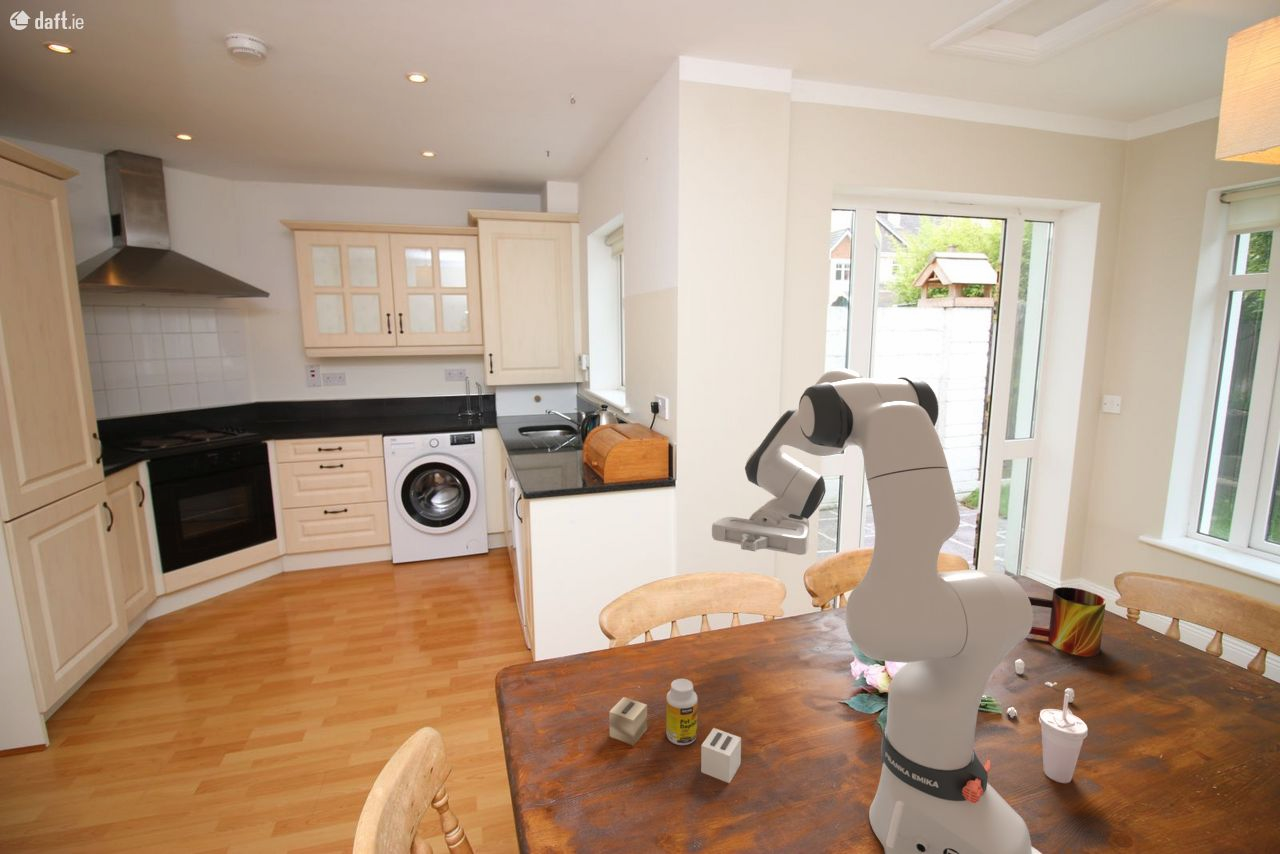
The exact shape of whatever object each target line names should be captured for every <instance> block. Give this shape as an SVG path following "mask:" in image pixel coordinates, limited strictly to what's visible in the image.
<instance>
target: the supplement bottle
mask: <svg viewBox="0 0 1280 854" xmlns="http://www.w3.org/2000/svg"><path fill="white" fill-rule="evenodd" d="M670 683H671V684H670V690H669V691H668V692H667V694H666V701H665V702H666V705H665V706H666V710H665V711H666V716H665V717H666V718H665V719H666V720H665V721H666V725H665V726H666V727H665V729H666V731H665V732H666V738H667V739H668V740H669V741H670V742H671V743H672V744H675V745H677V746H688V745H690V744H692V743H693V742H694V741H696V738H697V735H698V695H697V693H696V691H694V683H693V682H692V681H691V680H690V679H686V678H676V679H674V680H672V682H670Z"/></svg>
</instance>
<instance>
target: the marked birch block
mask: <svg viewBox="0 0 1280 854" xmlns="http://www.w3.org/2000/svg"><path fill="white" fill-rule="evenodd" d="M608 713H609V715H608V717H609V719H608V720H609V723H608V724H609V737H610V738H612V739H615V740H619V742H620V741H621V742H623V743H626V744H628V745H631V746H633V747H634V746H635V745H636V743H637V742H638V741H639V740H640V739H641V737H642V736H643V735H644V734H645V733H646V731H647V730H648V704H646V703H643V702H640V701H638V700H634V699H632V698H628V697H625V696H623V697H622V698H621V699H620V700H619V701H618V702H617V703H616V704H615V705H614V706H613V707H612V708H611V710H609V712H608ZM643 733H644V734H643Z"/></svg>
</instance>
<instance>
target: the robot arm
mask: <svg viewBox="0 0 1280 854" xmlns="http://www.w3.org/2000/svg"><path fill="white" fill-rule="evenodd" d="M938 418H939V402H938V397H937V396H936V393H935V392H934V390H933V389H932V387H931V386H930V385H929V384H928V383H927V382H926V381H924V380H922V379H918V378H912V377H902V376H901V377H898V378H867V377H863V376H862V375H861V374H860V373H858V372H857V371H855V370H852V369H848V368H835V369H831V370H829V371H827V372H825V373H824V374H823V375H822V376H821V377H819V379H818V380H817V381H816V383H815V384H814V385H811V386H809V387H807V388H806V389H805V390H804V392H803V393H802V395H801V397H800V398H799V403H798V408H797V409H796V408H791V409H788V410H787V411H785V412H784V413H783V415H782V416H780V417H779V419H778V420H777V421H776V422H775V424H774V425H773V427H772V428H771V429H770V431H769V432H768V433H767V434H766V436H765V438H764V439H763V440H762V441H761V443H760V444H759V446H758V447H757V448H755V449H754V450H753V451H752V452H751V454H750V455H749V457H748V459H746V463H745V467H744V471H745V475H746V478H747V481H748V482H750V483H751V484H754V485H755V486H757V487H759V488H762V489H763V490H765V491H766V492H768V493H769V494H771V495H772V496H774V497H773V498H771V499H770V500H769V501H767V502H766V503H764V505H762V506H761V507H759V508H758V509H757V510H755V512H753V513H752V514H751V515H750V517H749V518H748V519H747V518H742V517H741V518H740V517H735V516H726V517H723V518H721V519H719V520H716V521H714V522H713V523H712V525H711V538H712V539H713V540H714V541H717V542H724V543H730V544H735V545H740V549H741V550H744V551H751V552H754V553H755V552H757V551H759V550H769V551H775V552H781V553H787V554H793V555H797V556H802V555H806V554H807V553H808V550H809V544H810V543H809V542H810V521H809V519H810V518H811V516H812V515H813V514H814V513H815V511H816V510H817V509H818V508H819V506H820V505H821V503H822V501H823V499H824V497H825V495H826V483H825V479H824V477H823V475H821V474H819V473H818V472H816V471H815V470H813V469H812V468H810V467H809V466H807V465H806V464H804V463H802V462H800V461H799V460H797V459H795V458H794V457H792V456H791V455H788V454H787V453H786V452H784V451H783V450H782V449H781V448H782V447H783V446H789V447H793V448H795V449H798V450H800V451H803V452H805V453H807V454H809V455H813V456H817V457H829V456H834V455H837V454H839V453H841V452H843V451H845V449H846V448H847V447H849V446H858V447H859V449H860V450H861V451H862V456H863V457H862V458H863V464H864V471H865V475H866V477H865V478H866V483H867V486H868V487H867V488H868V494H869V498H870V503H871V510H872V516H873V517H872V518H873V527H874V544H873V545H874V546H873V551H872V557H871V559H870V563H869V565H868V568H867V570H866V572H865V574H864V576H863V578H862V579H861V580H860V582H859V583H858V584H857V585H856V586H855V587H854V588H853V590H852V591H851V592H850V594H849V596H848V597H847V601H846V603H845V607H844V608H845V609H844V622H845V626H846V627H845V628H846V630H847V633H848V635H849V637H850V639H851V641H852V642H853V643H854V645H855V647H856V648H858V650H859V651H860V652H861V653H862V654H863V655H864V656H866V657H867V658H869V659H871V660H874V661H883V662H890V663H893V662H894V663H903V664H905V665H903V666H902V667H900V668H899V669H898V670H897V672H896V673H894V675H893V677H892V678H891V681H890V683H889V686H888V696H887V698H888V699H887V711H886V712H887V713H886V726H884V728H883V732H882V737H881V745H880V753H881V756H880V757H881V759H880V761H881V764H882V767H881V773H880V778H879V782H878V786H877V789H876V794H875V796H874V798H873V800H872V802H871V804H870V806H869V813H868V816H869V823H870V827H871V828H872V830H873V833H874V834H875V836H876V837H877V839H878V840H879V842H880V843H881V845H882V847H883V850H884V854H1043V853H1042V852H1040V851H1039V850H1038V849H1036V848H1035V847H1033V846H1032V841H1031V837H1030V836H1031V835H1030V832H1029V829H1028V826H1027V823H1026V821H1025V820H1024V819H1023V818H1022V817H1021V815H1019V813H1017V811H1015V809H1014V808H1013V807H1012V806H1011V805H1010V804H1008V802H1007V801H1006V800H1005V799H1004V798H1003V797H1002V796H1001V795H1000V794H999V793H998V792H997V791H996V790H995V789H994V788H993V786H992V785H990V783H989V782H988V781H989V780H988V775H989V772H990V771H991V770H990V769H991V760H990V759H988V760H987V761H986V763H985V765H983V764H982V762H981V761H980V760H979V758H978V756H977V755H976V752H975V749H974V743H975V742H974V741H975V733H976V726H977V719H978V712H979V707H980V706H981V705H980V702H981V699H982V696H983V695H984V694H985V692H986V690H987V688H988V685H989V684H990V682H991V680H992V678H993V677H994V674H995V672H996V671H997V670H998V668H999V666H1000V664H1001V663H1002V662H1003V660H1004V658H1005V657H1006V656H1007V655H1008V653H1010V651H1011V650H1013V649H1014V648H1015V647H1016V646H1017V645H1018V644H1019V643H1021V642H1022V641H1023V640H1025V639H1026V638H1027V637H1028V636H1029V635H1030V634H1029V633H1030V631H1031V628H1032V627H1033V622H1034V611H1033V605H1032V606H1031V603H1030V600H1029V598H1028V597H1029V596H1028V594H1027V593H1026V591H1025V590H1024V588H1023V587H1022V586H1021V585H1020V584H1019V583H1018V582H1017V580H1015V579H1013V578H1012V577H1011V576H1009V575H1007V574H1005V573H1002V572H995V571H988V570H981V569H960V570H951V571H941V572H939V570H938V563H939V556H940V552H941V549H942V547H943V546H944V544H945V542H947V541H948V540H949V539H950V538H952V537H953V536H955V534H956V532H958V530H959V527H960V522H961V516H960V515H961V514H960V511H959V507H958V502H957V498H956V495H955V489H954V486H953V482H952V478H951V473H950V469H949V466H948V462H947V458H946V454H945V451H944V447H943V445H942V443H941V440H940V437H939V435H938V432H937V429H936V428H935V426H936V423H937V421H938Z"/></svg>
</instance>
